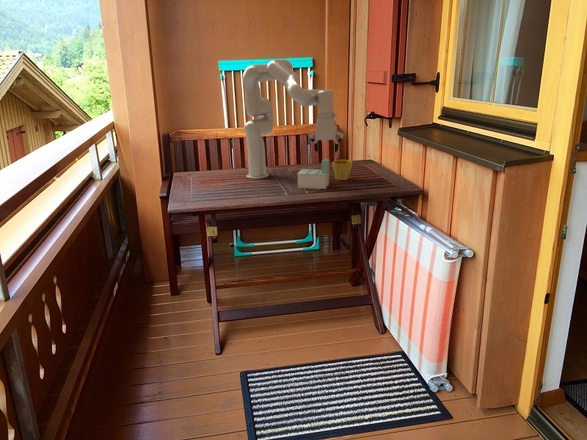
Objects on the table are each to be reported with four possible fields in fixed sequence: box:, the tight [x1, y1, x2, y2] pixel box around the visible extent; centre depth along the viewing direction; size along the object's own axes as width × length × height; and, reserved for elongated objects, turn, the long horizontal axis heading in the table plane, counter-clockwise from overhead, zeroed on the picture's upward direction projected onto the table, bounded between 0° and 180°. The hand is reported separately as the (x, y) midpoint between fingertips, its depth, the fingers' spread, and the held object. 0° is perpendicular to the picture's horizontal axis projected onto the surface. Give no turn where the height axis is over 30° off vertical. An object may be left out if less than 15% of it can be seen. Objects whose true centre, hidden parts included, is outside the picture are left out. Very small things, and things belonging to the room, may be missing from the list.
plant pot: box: [331, 159, 353, 181], centre depth 245 cm, size 10×10×10 cm
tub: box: [297, 172, 330, 190], centre depth 233 cm, size 10×14×7 cm
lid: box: [296, 158, 330, 176], centre depth 231 cm, size 10×15×8 cm
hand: (326, 151), depth 227 cm, fingers open, 9 cm apart
